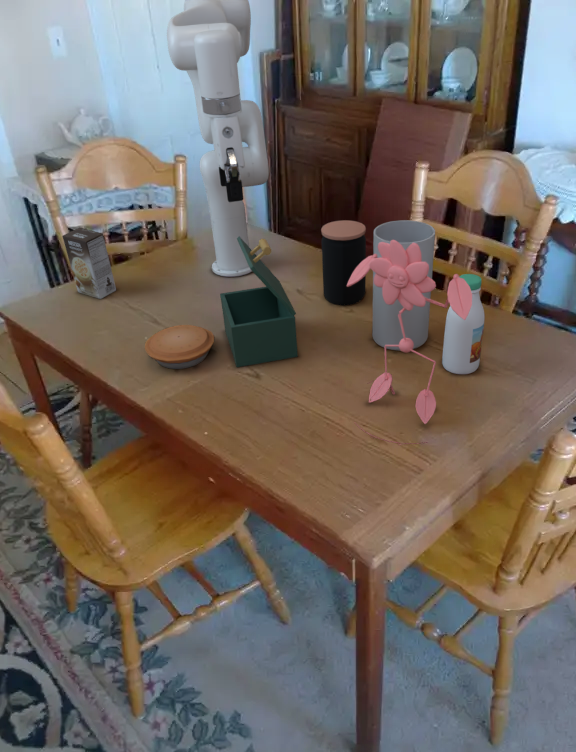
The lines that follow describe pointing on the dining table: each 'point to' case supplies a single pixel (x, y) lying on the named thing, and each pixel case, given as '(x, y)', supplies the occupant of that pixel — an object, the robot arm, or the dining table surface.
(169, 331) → the pie
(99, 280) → the coffee box
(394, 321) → the cylinder vase
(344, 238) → the coffee jar
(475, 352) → the milk bottle
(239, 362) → the bread bin
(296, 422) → the dining table surface
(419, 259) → the figurine
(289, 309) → the bread bin lid
